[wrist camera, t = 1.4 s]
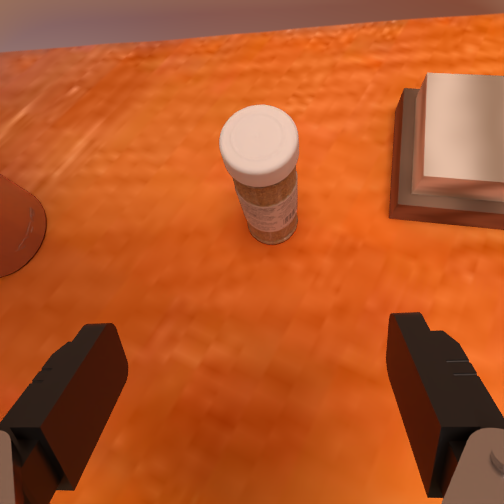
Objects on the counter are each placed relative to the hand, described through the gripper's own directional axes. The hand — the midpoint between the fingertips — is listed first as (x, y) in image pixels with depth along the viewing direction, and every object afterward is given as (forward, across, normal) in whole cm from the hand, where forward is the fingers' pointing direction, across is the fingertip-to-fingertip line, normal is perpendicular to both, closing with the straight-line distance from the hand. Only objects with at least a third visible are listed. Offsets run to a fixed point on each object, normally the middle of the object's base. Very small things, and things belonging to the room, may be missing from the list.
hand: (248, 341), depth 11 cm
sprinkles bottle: (+23, 0, +6) cm, 24 cm away
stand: (+26, -16, +3) cm, 31 cm away
